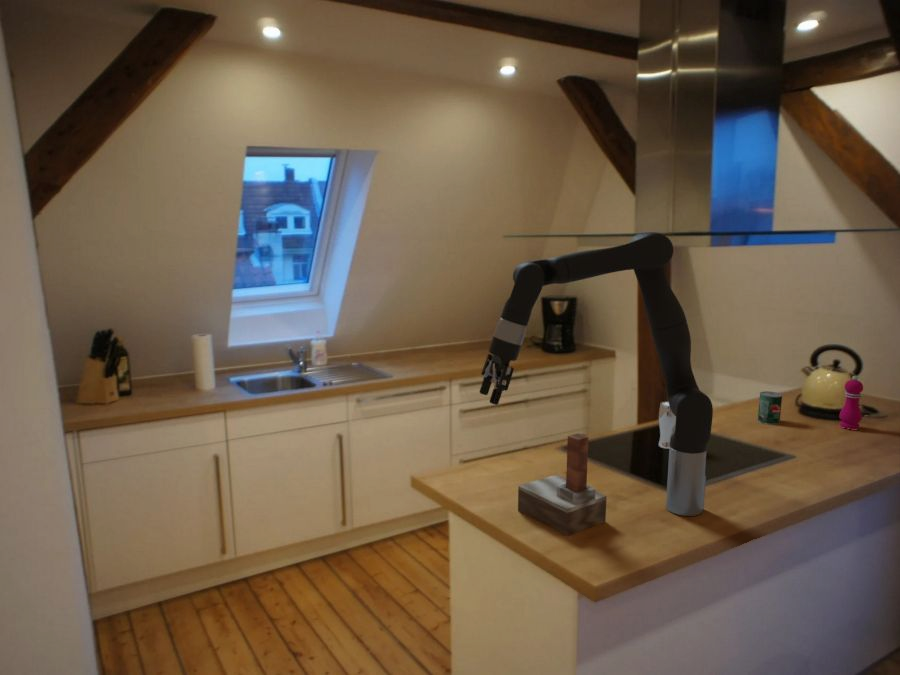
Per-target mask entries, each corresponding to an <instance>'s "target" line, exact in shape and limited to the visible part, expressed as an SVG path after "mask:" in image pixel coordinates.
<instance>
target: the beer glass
mask: <svg viewBox="0 0 900 675" xmlns="http://www.w3.org/2000/svg"><path fill="white" fill-rule="evenodd" d="M658 423H659V424H658V425H659V435H660V436H659V441H658V447H660V448H662V449H665V450H669V448H670V437H671V435H673V434H674V432H675V423H676V416H675V415H674V414H673V413H672V411H671V409H670V406H669V402H668V401H661V402H660V406H659V412H658Z"/></svg>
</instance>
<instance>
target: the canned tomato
mask: <svg viewBox="0 0 900 675" xmlns="http://www.w3.org/2000/svg"><path fill="white" fill-rule="evenodd" d="M758 400H759V402H758V411H757V422H759V421H760V422H759V423H761V422H763V423H762V424H765V423H767V424H766V425H779V424H780V423H781V414H782V412H781V411H782V403H783V402H782V400H783V394H781V393H779V392H777V391H776V392H775V391H766V390H765V391H760V392H759V399H758ZM778 423H779V424H778Z"/></svg>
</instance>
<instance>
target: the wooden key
mask: <svg viewBox="0 0 900 675" xmlns="http://www.w3.org/2000/svg"><path fill="white" fill-rule="evenodd" d="M566 444H567V448H566V449H567V450H566V473H565V474H566V476H565V478H566V488H567V489H570V490H572V491H574V492H580V491H583V490H586V486H588V484H587V482H588V462H589V461H588V458H589V456H588V455H589V436H586V435H583V434H581V433H574V434H571V435H567V443H566Z"/></svg>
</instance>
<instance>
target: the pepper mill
mask: <svg viewBox="0 0 900 675" xmlns="http://www.w3.org/2000/svg"><path fill="white" fill-rule="evenodd" d="M844 390H845V392H844V393H845V403H844V405H843V407H842V409H840V412H839V420H841V421H840V423H839V427H840V426H841V427H844V428H850V429H858V428H859V429H860V424H859V423H860V422H861V421H862V419H863V418H862V417H863V416H862V412H861V408H860V405H859V402H860V398H861V395H862V394H861V393H862V392H863V390H864V385H863V383H862V382H861V381H860V380H858V377H857V376H856V375H853V376H852V378H851V379H850V380H849V379H848V380H847V381H846V382H845V383H844ZM841 427H840V428H841Z"/></svg>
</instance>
